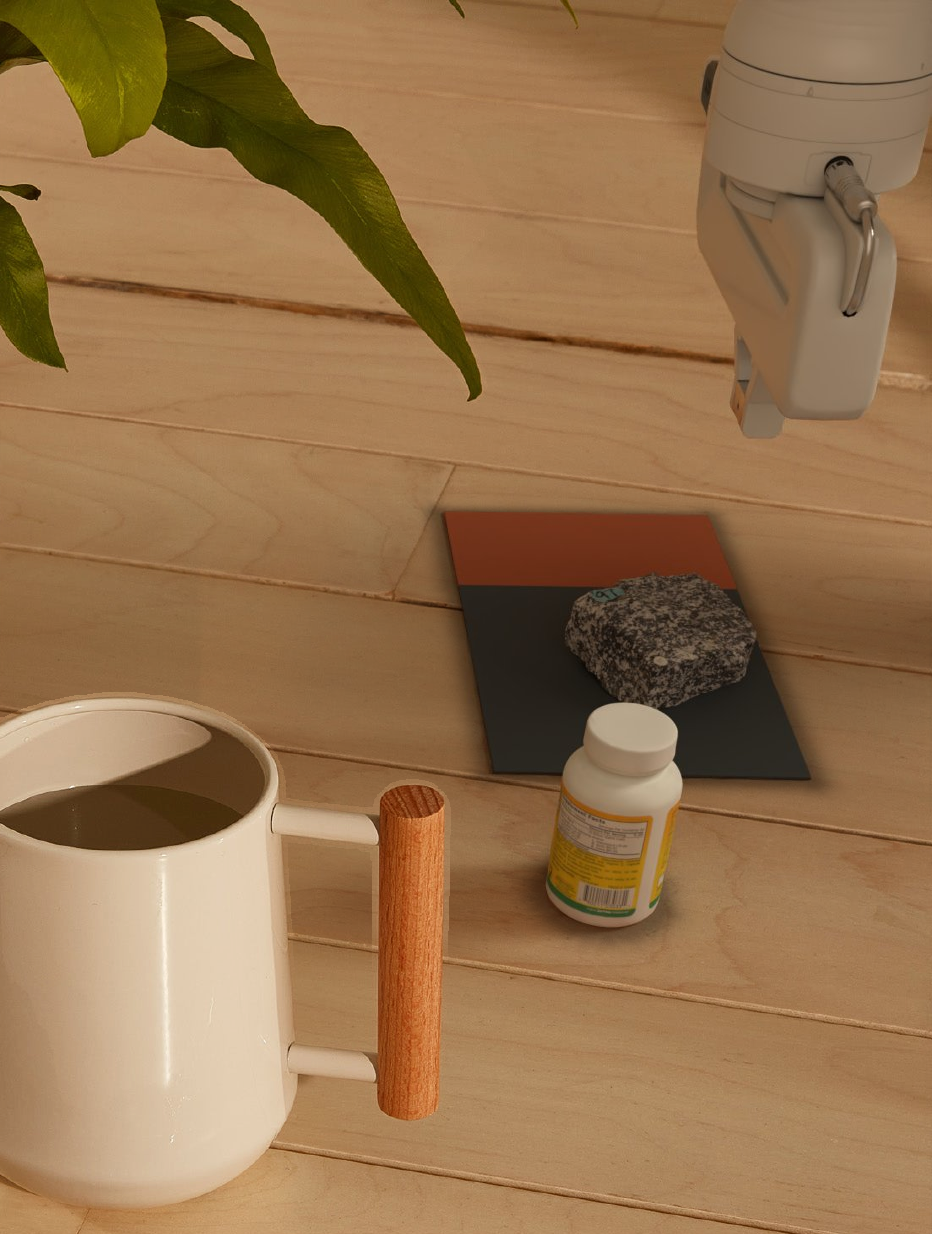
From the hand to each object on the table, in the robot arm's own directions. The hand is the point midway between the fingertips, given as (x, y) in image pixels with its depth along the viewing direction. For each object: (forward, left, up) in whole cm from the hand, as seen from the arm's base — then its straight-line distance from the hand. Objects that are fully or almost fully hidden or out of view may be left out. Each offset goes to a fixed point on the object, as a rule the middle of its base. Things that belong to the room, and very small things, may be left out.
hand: (753, 424), depth 99 cm
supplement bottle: (+6, +11, -19) cm, 23 cm away
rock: (0, -10, -19) cm, 22 cm away
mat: (+2, -13, -19) cm, 23 cm away
